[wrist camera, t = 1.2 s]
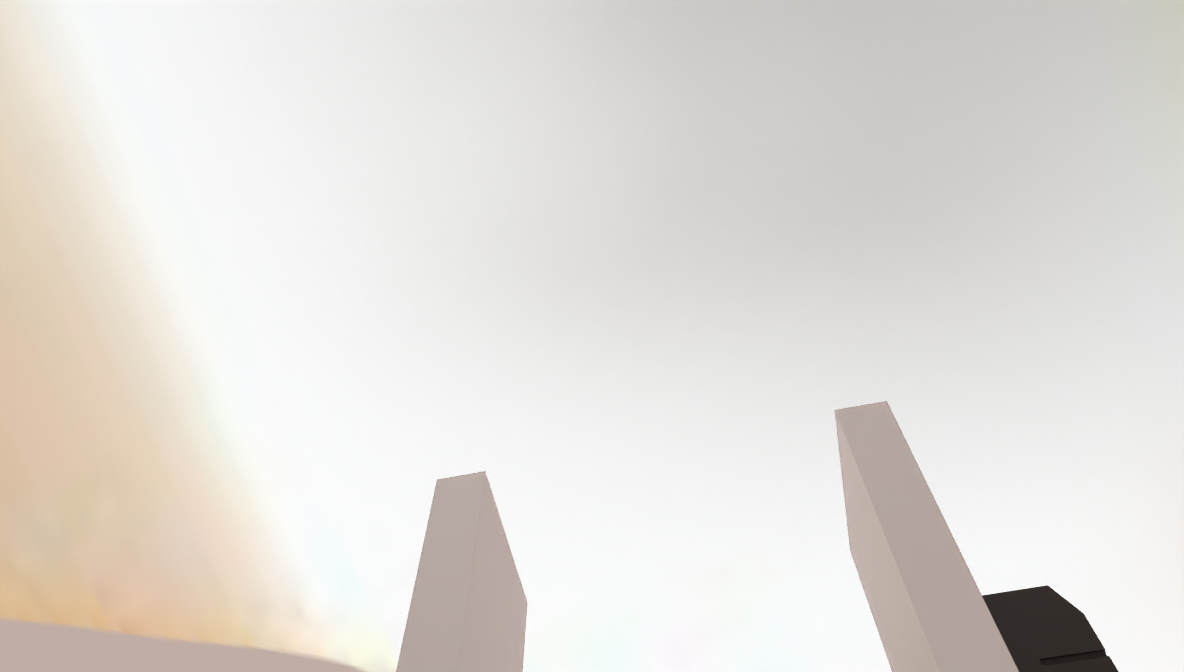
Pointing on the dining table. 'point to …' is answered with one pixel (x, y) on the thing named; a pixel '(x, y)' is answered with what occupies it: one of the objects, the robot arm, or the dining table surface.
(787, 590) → the dining table surface
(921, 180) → the dining table surface
